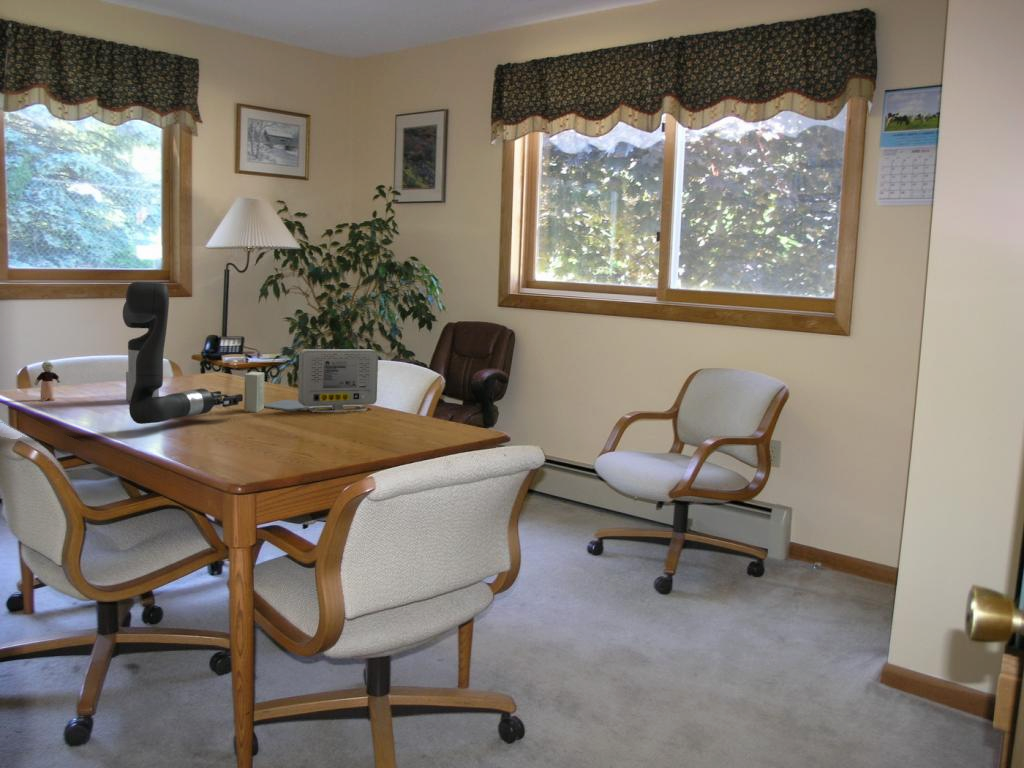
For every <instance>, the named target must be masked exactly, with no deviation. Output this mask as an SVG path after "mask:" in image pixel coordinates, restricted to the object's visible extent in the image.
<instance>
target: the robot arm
mask: <svg viewBox="0 0 1024 768" xmlns="http://www.w3.org/2000/svg"><path fill="white" fill-rule="evenodd" d="M169 306H170V293H169V288H168V286H167V284H165V283H163V282H150V281H146V282H145V281H134V282H131V283H130V284H129V285H128V287H127V289H126V293H125V303H124V304H123V307H122V320H123V322H124V324H125V326H126V327H127V328H130V329H148V330H147V331H146V333H144V334H143V335H140V336H138V337H134V338H132V339H130V340H128V342H127V359H128V360H127V362H128V363H127V364H128V370H127V371H126V373H125V394H126V397H125V398H126V401H127V402H129V407H128V408H129V409H128V410H129V411H128V413H129V415H130V417H131V419H132V421H133V422H135V424H141V425H142V424H143V425H144V424H155V423H161V422H163V423H164V422H166V421H170V420H172V419H178V418H179V419H180V418H184V417H185V418H186V417H189V418H190V417H194V416H199V415H204V414H207V413H209V412H211V411H212V409H213V408H217V407H223V408H226V407H232V406H238V405H239V403H240V402H244V401H243V400H244V394H243V393H238V394H232V395H228V394H227V393H222V391H220V390H219V391H209V390H208V389H207V388H195V389H190V390H185V391H181V392H177V393H176V392H175V393H171V394H166V395H164V396H160V389H161V388H162V386H163V383H164V353H165V350H164V349H165V343H166V338H167V337H166V336H167V327H168V320H169V319H168V318H169V308H170V307H169Z"/></svg>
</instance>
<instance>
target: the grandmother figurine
mask: <svg viewBox="0 0 1024 768" xmlns="http://www.w3.org/2000/svg"><path fill="white" fill-rule="evenodd" d="M41 368H42V370H43V371H42V372H40V374H38V376H37V377H36V379H35V382H34V386H38V385H39V382H40V381H41V385H40V397H39V398H40V399H39V402H47V401H48V402H49V401H51V402H52V401H55V400H56V399H55V398H54V380H56V383H57V384H59V383H61V380H60V378H59V375H58V374H57V373H55V372H53V371H52V370H53V368H54V363H52V362H51V361H48V360H46V361H43V362H42V364H41Z"/></svg>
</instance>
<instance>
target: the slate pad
mask: <svg viewBox="0 0 1024 768" xmlns="http://www.w3.org/2000/svg"><path fill="white" fill-rule="evenodd" d="M264 407H266V408H265V409H271V408H274V409H273V410H278V409H279V410H281V411H285V410H286V412H292V411H293V412H294V411H295V412H297V411H298V410H299V411H303V410H302V409H304V410H307V409H306V408H309V407H313V406H303V405H302V404H300V403H299V401H298V400H291V399H283V400H277V401H274V402H273V401H272V402H267V403H264ZM295 412H294V413H295Z"/></svg>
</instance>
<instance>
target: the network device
mask: <svg viewBox="0 0 1024 768" xmlns="http://www.w3.org/2000/svg"><path fill="white" fill-rule="evenodd" d="M378 367H379V353H378V352H377V351H376V350H373V349H371V348H370V349H368V348H367V349H359V348H358V349H356V348H355V349H354V348H353V349H351V348H349V349H345V348H343V349H339V348H337V349H334V348H333V349H329V348H328V349H326V348H325V349H324V348H323V349H320V348H319V349H315V348H314V349H313V348H312V349H309V348H308V349H306V348H305V349H301V350H299V353H298V386H297V387H298V390H297V391H298V393H297V396H298V397H297V398H298V399H297V401H299V403H300V404H302V405H303V406H313V407H309V408H308V409H309V410H310V411H309V410H308V409H307V410H308V411H309V412H311V411H312V412H311V413H314V412H334V413H337V412H336V411H363V410H367V411H368V408H367V407H366V406H365V405H375V404H376V403H377V400H378V371H379V368H378ZM343 407H354V408H355V409H354V408H353V409H347V408H343ZM357 407H360V408H357ZM313 408H323V409H325V410H318V409H313ZM330 408H333V409H334V410H333V409H330ZM356 408H357V409H356ZM361 408H362V409H361ZM326 409H327V410H326ZM363 412H364V411H363Z"/></svg>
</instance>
